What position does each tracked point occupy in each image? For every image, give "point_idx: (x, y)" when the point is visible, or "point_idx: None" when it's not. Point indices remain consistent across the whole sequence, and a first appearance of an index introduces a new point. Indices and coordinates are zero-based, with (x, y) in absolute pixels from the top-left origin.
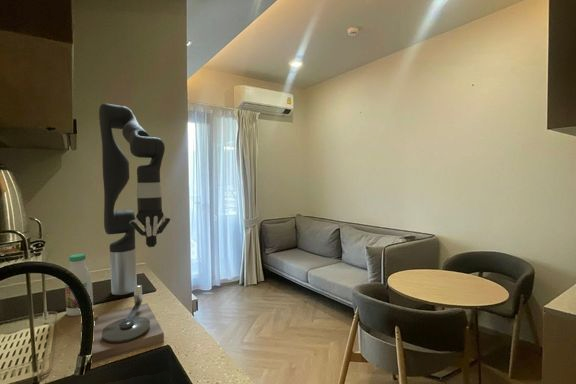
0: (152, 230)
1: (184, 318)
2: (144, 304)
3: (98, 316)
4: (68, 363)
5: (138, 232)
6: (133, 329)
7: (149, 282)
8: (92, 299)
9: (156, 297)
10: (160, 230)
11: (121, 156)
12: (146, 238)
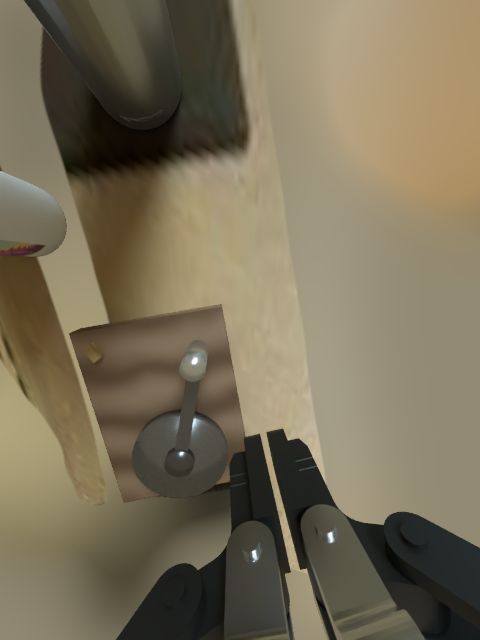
0: (336, 593)
1: (299, 389)
2: (213, 313)
3: (101, 340)
4: (96, 471)
5: (133, 626)
6: (195, 475)
7: (226, 15)
8: (47, 221)
9: (246, 216)
10: (435, 633)
11: None
12: (237, 520)
